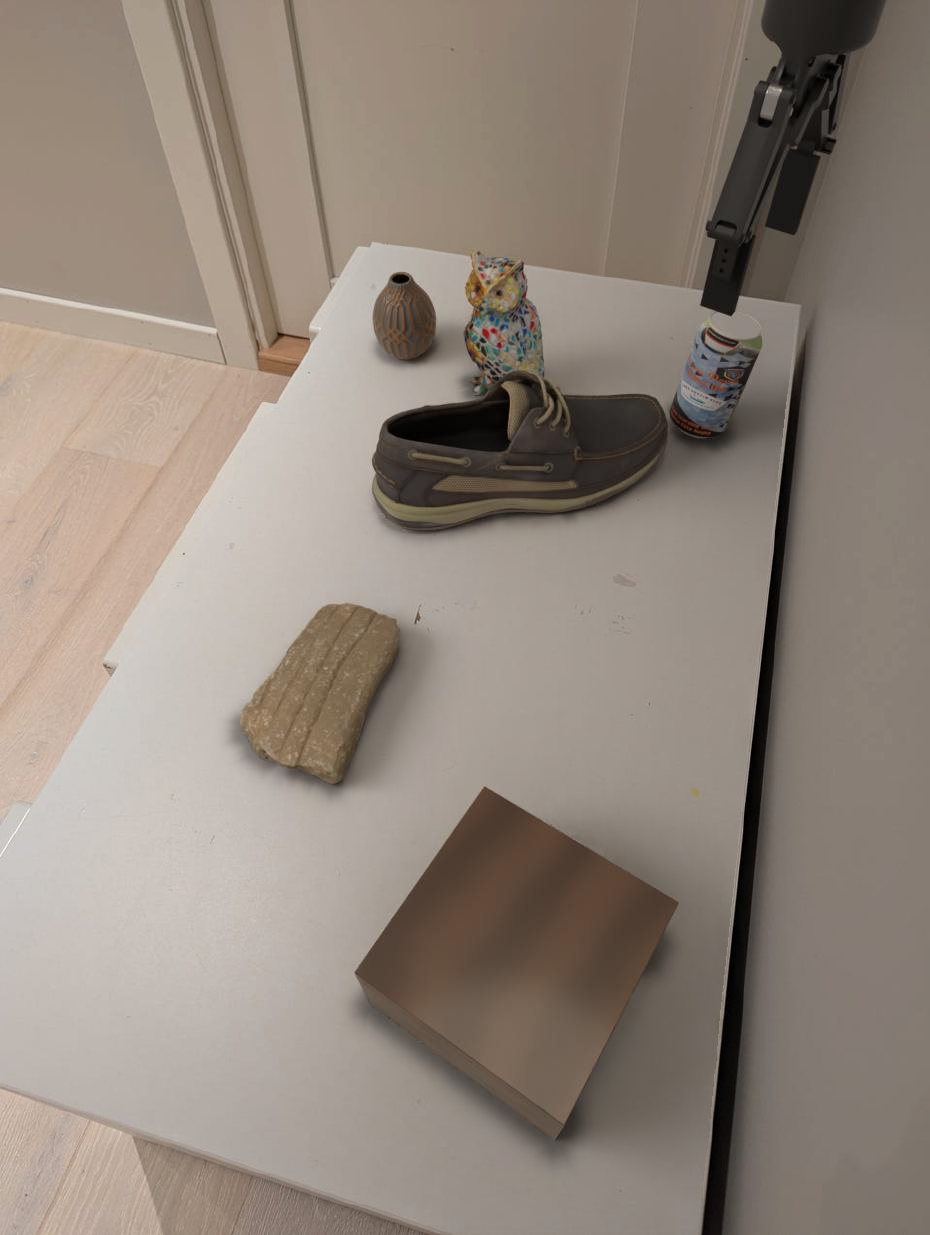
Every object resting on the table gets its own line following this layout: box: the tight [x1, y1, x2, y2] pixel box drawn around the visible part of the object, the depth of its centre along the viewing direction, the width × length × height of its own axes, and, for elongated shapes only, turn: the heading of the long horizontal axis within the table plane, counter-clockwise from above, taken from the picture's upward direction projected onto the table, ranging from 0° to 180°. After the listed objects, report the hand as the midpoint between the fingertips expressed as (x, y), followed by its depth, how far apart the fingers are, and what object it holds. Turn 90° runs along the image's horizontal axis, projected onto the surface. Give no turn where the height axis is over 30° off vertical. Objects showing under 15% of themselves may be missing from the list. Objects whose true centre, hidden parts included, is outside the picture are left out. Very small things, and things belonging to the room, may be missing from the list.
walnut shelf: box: [354, 785, 680, 1141], centre depth 54 cm, size 14×14×8 cm
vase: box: [372, 271, 437, 361], centre depth 93 cm, size 7×7×9 cm
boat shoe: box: [371, 371, 669, 531], centre depth 80 cm, size 11×29×11 cm, turn 109°
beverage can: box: [668, 310, 763, 439], centre depth 84 cm, size 6×7×12 cm
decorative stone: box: [239, 602, 401, 785], centre depth 69 cm, size 10×16×4 cm, turn 162°
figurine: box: [463, 249, 545, 396], centre depth 86 cm, size 9×9×15 cm
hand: (750, 267), depth 73 cm, fingers open, 13 cm apart
